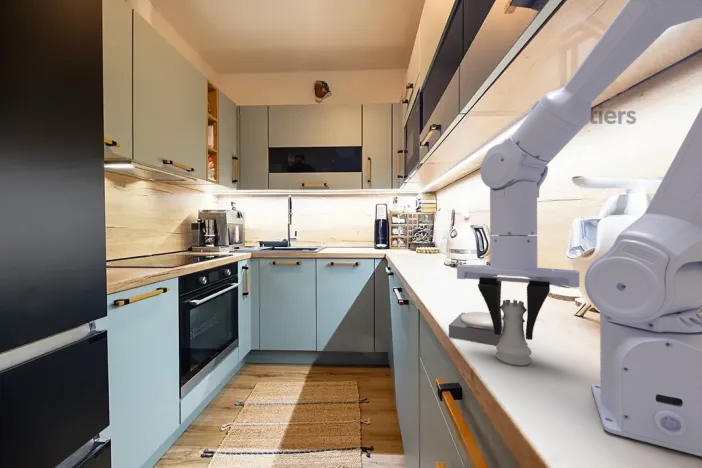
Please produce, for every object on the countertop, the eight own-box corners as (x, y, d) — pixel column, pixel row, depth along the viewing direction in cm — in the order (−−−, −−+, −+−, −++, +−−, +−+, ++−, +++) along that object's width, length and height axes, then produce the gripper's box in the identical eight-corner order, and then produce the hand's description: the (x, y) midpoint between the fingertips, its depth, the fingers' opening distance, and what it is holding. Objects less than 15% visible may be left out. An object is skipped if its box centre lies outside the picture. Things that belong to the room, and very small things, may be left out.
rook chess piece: (523, 354, 44) (522, 298, 44) (538, 367, 40) (538, 305, 40) (490, 353, 45) (490, 297, 45) (502, 366, 40) (502, 304, 40)
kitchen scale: (516, 348, 47) (516, 330, 47) (448, 337, 52) (448, 320, 52) (520, 331, 55) (520, 315, 55) (462, 322, 60) (462, 308, 60)
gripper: (575, 235, 42) (576, 336, 42) (464, 235, 50) (464, 320, 50) (580, 235, 36) (581, 352, 36) (453, 235, 44) (453, 332, 44)
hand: (513, 335), depth 42 cm, fingers closed on rook chess piece, 3 cm apart
